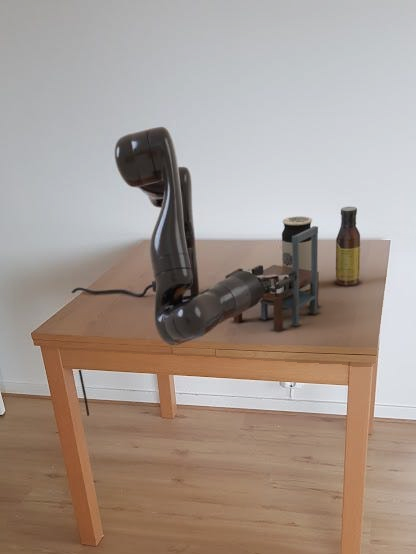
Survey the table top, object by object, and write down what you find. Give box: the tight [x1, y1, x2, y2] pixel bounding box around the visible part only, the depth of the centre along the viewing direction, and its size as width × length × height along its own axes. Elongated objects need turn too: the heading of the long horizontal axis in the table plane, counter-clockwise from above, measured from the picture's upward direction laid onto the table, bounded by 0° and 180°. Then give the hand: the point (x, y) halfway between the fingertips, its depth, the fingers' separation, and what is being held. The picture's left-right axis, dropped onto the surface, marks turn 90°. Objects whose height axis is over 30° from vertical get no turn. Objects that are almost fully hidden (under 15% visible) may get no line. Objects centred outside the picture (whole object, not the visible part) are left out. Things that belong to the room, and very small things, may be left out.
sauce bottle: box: [335, 206, 361, 287], centre depth 178 cm, size 7×6×20 cm
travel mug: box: [281, 215, 313, 292], centre depth 178 cm, size 8×8×18 cm
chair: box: [259, 225, 319, 327], centre depth 160 cm, size 10×10×21 cm
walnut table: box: [233, 264, 320, 332], centre depth 165 cm, size 13×18×9 cm
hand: (278, 272), depth 148 cm, fingers open, 8 cm apart
